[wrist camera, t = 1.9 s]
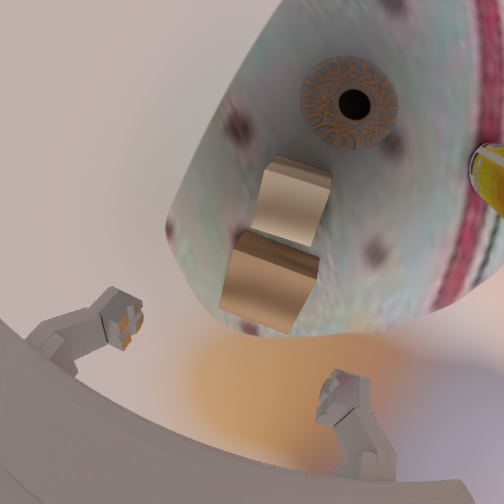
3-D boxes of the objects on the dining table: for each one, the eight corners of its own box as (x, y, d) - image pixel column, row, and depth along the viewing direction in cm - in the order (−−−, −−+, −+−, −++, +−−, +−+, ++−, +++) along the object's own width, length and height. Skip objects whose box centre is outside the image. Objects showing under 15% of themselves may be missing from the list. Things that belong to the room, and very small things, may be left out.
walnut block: (245, 229, 30) (233, 248, 26) (319, 256, 29) (316, 279, 26) (229, 285, 34) (218, 307, 31) (293, 309, 34) (287, 334, 30)
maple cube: (277, 155, 25) (264, 169, 21) (331, 172, 24) (330, 190, 20) (264, 204, 28) (250, 227, 23) (315, 220, 27) (310, 246, 23)
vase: (289, 92, 22) (266, 92, 14) (352, 48, 18) (362, 24, 11) (339, 156, 23) (341, 187, 16) (403, 114, 20) (436, 126, 12)
